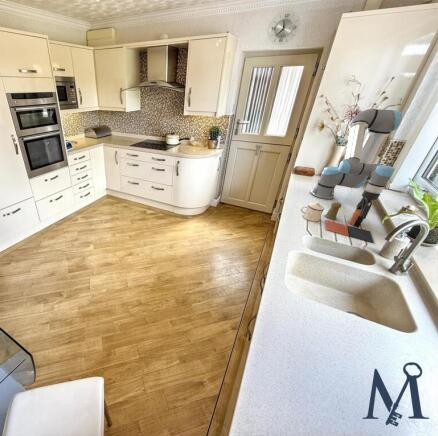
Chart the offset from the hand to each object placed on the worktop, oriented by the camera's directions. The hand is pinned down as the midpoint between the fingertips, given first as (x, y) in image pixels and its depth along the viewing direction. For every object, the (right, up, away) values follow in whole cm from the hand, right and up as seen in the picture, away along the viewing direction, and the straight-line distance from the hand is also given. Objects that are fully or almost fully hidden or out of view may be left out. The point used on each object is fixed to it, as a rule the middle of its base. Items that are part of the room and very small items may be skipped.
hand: (354, 222), depth 150 cm
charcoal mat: (-6, -7, -10) cm, 14 cm away
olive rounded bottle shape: (-11, +3, +7) cm, 13 cm away
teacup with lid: (-27, +3, +5) cm, 27 cm away
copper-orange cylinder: (0, -1, +1) cm, 1 cm away
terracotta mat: (-16, -3, -5) cm, 17 cm away
